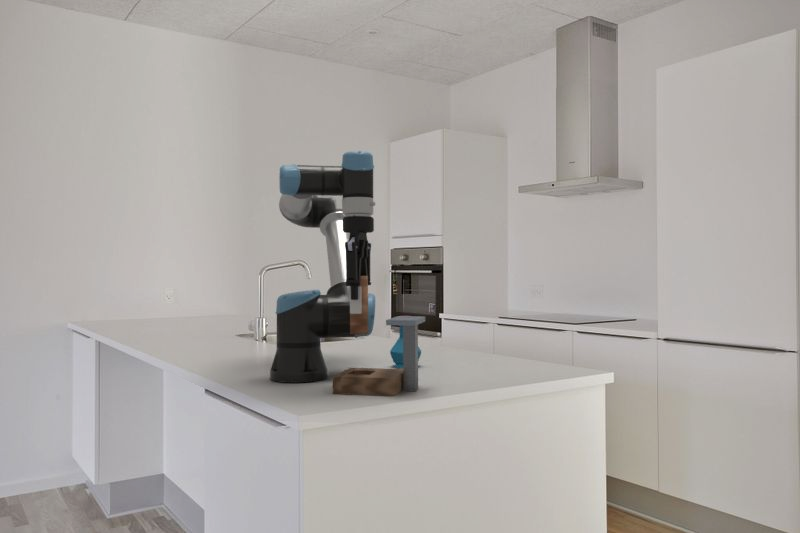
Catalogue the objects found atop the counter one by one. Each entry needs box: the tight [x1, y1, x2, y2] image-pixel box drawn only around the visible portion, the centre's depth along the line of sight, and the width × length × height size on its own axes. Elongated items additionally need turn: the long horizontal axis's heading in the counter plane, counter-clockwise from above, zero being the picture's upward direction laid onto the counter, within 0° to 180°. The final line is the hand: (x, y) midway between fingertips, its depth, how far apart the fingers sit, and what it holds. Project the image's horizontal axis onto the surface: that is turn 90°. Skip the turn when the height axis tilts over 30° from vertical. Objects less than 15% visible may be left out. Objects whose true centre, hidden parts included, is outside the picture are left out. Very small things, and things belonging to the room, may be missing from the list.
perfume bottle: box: [389, 325, 422, 369], centre depth 198 cm, size 9×9×15 cm
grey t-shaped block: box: [385, 315, 426, 392], centre depth 161 cm, size 7×12×17 cm, turn 167°
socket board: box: [332, 367, 403, 397], centre depth 162 cm, size 15×14×4 cm
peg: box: [350, 276, 369, 335], centre depth 162 cm, size 4×4×14 cm
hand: (358, 312), depth 162 cm, fingers closed on peg, 4 cm apart
